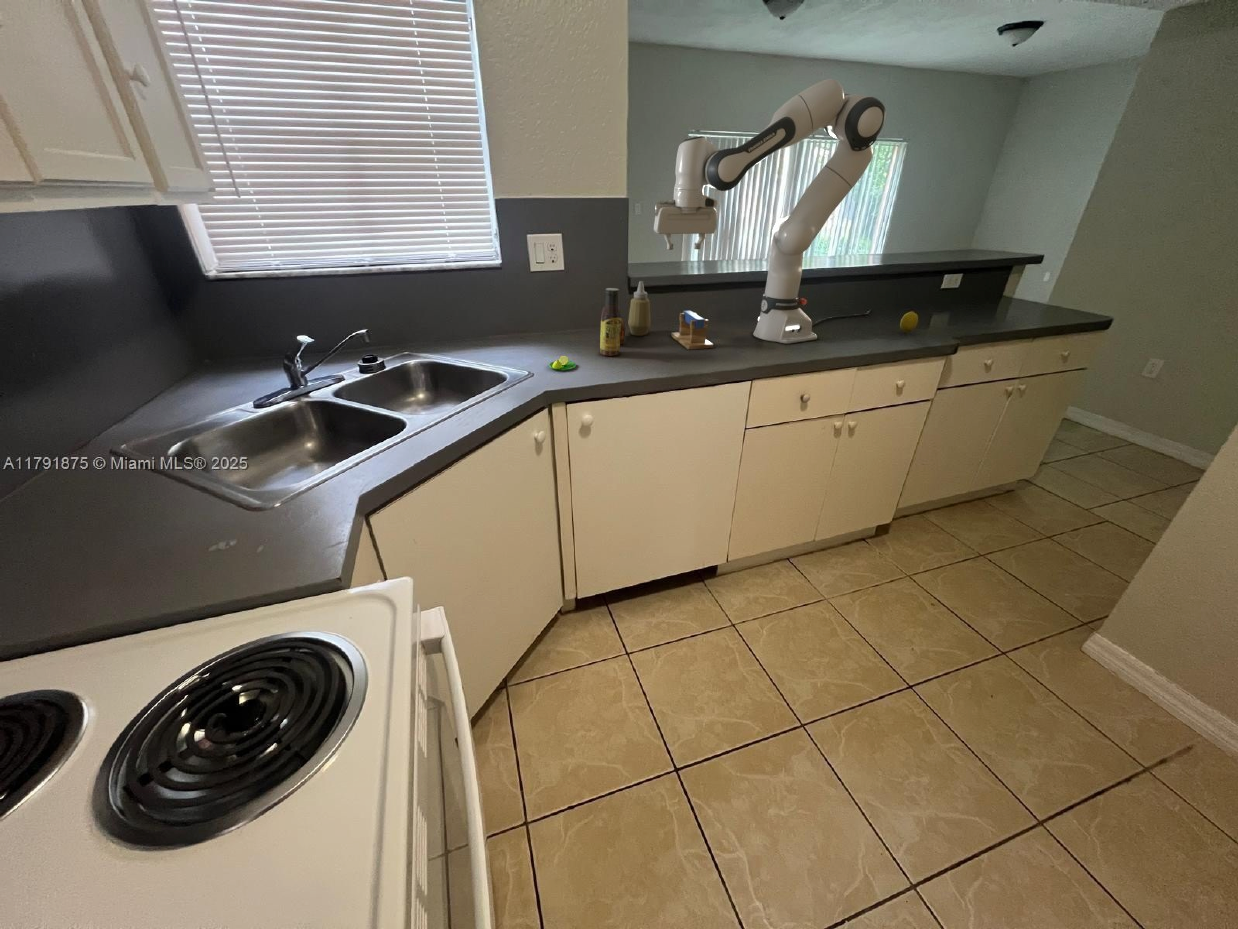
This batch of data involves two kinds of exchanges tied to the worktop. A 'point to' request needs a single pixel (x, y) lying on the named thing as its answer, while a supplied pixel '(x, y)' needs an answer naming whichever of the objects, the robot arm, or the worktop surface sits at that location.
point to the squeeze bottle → (639, 312)
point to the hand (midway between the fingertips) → (683, 249)
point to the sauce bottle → (610, 324)
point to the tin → (622, 332)
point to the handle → (692, 316)
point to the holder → (692, 335)
